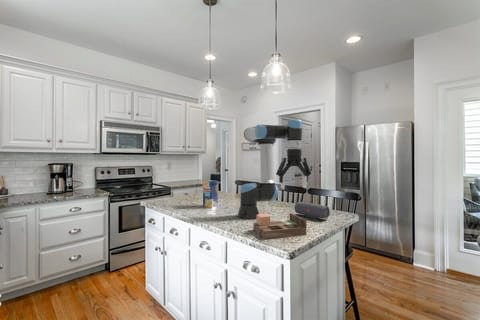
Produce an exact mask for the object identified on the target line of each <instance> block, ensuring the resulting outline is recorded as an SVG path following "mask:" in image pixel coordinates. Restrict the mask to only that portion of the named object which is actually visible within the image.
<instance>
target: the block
mask: <svg viewBox="0 0 480 320" xmlns="http://www.w3.org/2000/svg"><path fill="white" fill-rule="evenodd" d="M255 219H256V221H255V223H257V224H258V225H260V226H267V225H270V221H271V216H270V215H269V214H267V213H261V214H260V213H259V214H258V215H256V218H255Z"/></svg>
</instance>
